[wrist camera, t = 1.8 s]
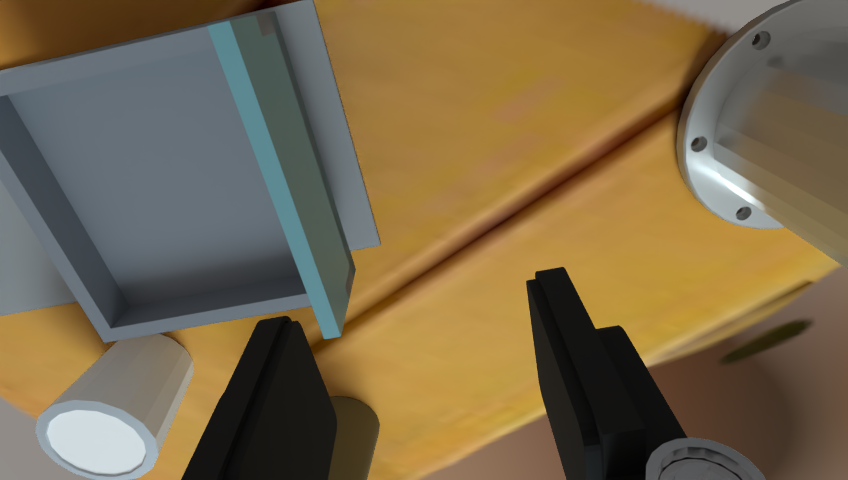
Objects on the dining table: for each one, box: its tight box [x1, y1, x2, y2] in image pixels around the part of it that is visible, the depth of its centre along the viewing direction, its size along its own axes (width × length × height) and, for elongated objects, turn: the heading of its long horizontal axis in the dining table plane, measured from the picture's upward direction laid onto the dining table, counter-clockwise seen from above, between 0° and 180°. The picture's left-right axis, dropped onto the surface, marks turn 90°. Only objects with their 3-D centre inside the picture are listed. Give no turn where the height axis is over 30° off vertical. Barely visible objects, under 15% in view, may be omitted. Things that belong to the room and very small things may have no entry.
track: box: [0, 0, 381, 316], centre depth 27 cm, size 28×14×3 cm, turn 102°
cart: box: [0, 11, 356, 343], centre depth 24 cm, size 14×14×8 cm
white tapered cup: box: [35, 333, 194, 480], centre depth 32 cm, size 7×7×7 cm
